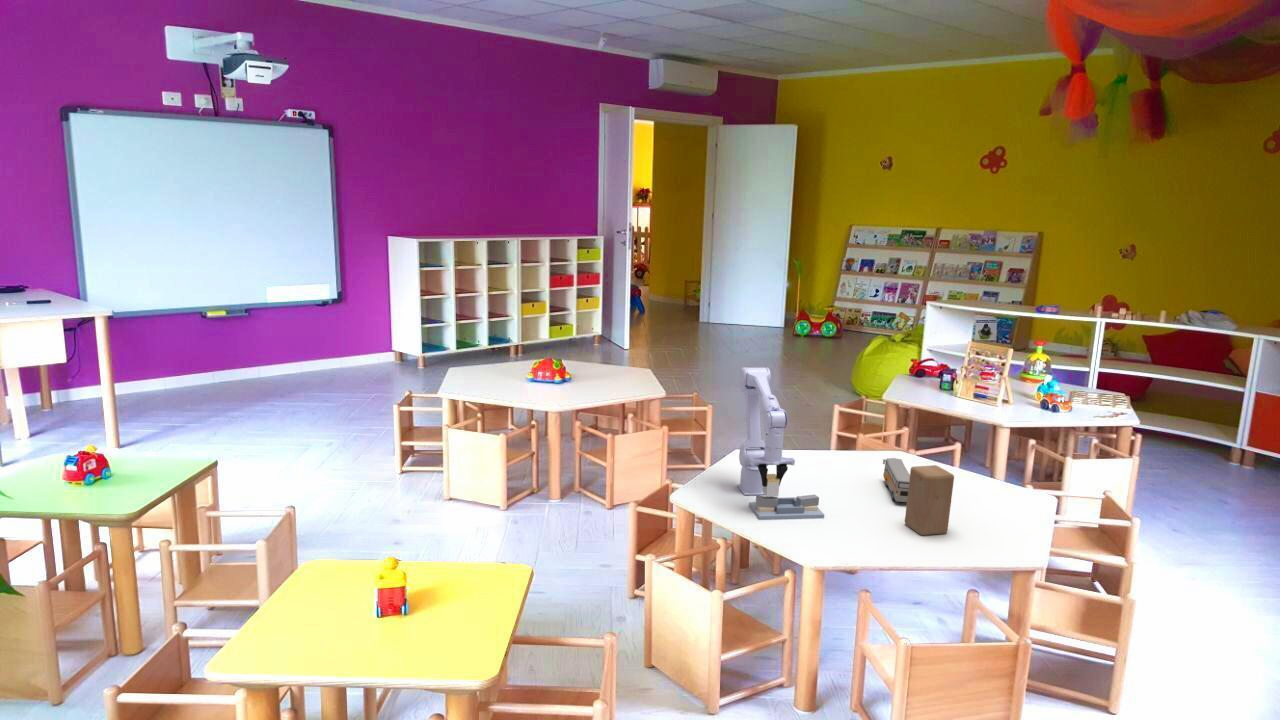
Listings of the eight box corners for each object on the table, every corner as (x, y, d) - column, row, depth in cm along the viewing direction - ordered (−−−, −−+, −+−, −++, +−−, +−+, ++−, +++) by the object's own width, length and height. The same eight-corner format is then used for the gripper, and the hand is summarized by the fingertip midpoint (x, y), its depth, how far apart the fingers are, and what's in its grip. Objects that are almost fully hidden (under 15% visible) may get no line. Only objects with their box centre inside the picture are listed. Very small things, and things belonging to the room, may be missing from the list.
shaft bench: (749, 505, 285) (750, 491, 284) (811, 504, 289) (812, 489, 288) (759, 519, 274) (760, 504, 273) (824, 517, 277) (825, 503, 276)
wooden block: (920, 536, 266) (927, 476, 262) (903, 524, 275) (909, 465, 271) (948, 534, 268) (955, 474, 264) (929, 521, 278) (936, 464, 274)
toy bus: (899, 481, 315) (902, 456, 312) (913, 507, 290) (916, 480, 288) (881, 480, 315) (883, 455, 313) (893, 506, 290) (896, 478, 288)
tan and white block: (762, 491, 282) (763, 474, 281) (773, 490, 283) (775, 473, 281) (766, 496, 277) (767, 479, 276) (778, 496, 278) (779, 479, 277)
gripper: (755, 450, 272) (752, 490, 275) (798, 450, 274) (795, 489, 277) (749, 443, 279) (746, 482, 281) (792, 443, 281) (788, 482, 284)
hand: (770, 485), depth 280 cm, fingers closed on tan and white block, 4 cm apart
